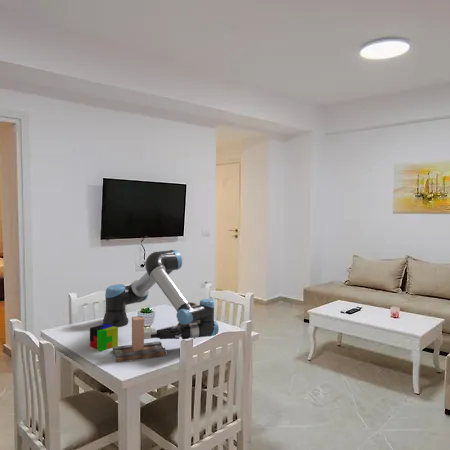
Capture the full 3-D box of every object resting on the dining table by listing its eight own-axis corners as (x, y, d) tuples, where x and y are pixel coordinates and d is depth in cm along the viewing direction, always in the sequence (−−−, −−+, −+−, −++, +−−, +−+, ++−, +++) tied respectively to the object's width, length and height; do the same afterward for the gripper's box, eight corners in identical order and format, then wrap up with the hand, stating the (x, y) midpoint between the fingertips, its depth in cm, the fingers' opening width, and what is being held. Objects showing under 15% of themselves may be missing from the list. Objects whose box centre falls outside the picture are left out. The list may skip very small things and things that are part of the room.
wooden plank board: (159, 345, 217) (159, 340, 217) (166, 355, 203) (166, 350, 202) (112, 350, 209) (112, 345, 208) (116, 362, 194) (116, 357, 194)
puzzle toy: (106, 341, 221) (106, 323, 221) (117, 346, 215) (117, 327, 214) (89, 346, 214) (89, 327, 213) (101, 351, 207) (101, 332, 207)
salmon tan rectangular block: (141, 347, 209) (141, 315, 208) (143, 351, 204) (143, 319, 202) (131, 348, 207) (131, 316, 206) (133, 352, 202) (133, 320, 201)
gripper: (192, 342, 208) (146, 348, 199) (185, 334, 220) (141, 339, 211) (193, 327, 207) (146, 332, 199) (185, 320, 219) (141, 324, 211)
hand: (143, 336), depth 205 cm, fingers closed
